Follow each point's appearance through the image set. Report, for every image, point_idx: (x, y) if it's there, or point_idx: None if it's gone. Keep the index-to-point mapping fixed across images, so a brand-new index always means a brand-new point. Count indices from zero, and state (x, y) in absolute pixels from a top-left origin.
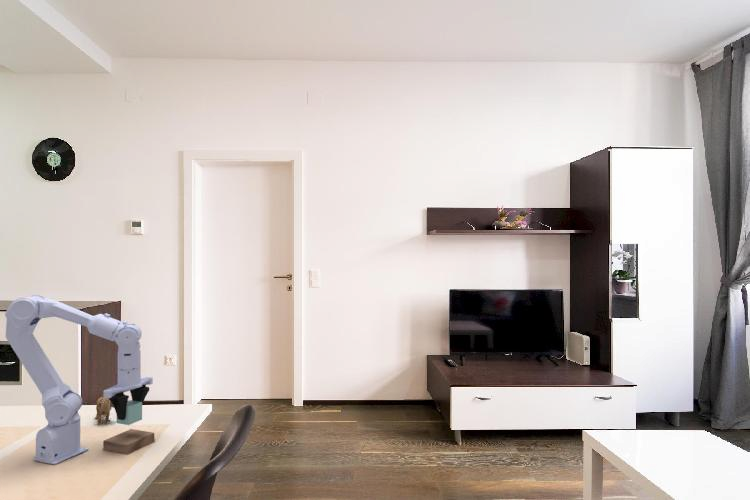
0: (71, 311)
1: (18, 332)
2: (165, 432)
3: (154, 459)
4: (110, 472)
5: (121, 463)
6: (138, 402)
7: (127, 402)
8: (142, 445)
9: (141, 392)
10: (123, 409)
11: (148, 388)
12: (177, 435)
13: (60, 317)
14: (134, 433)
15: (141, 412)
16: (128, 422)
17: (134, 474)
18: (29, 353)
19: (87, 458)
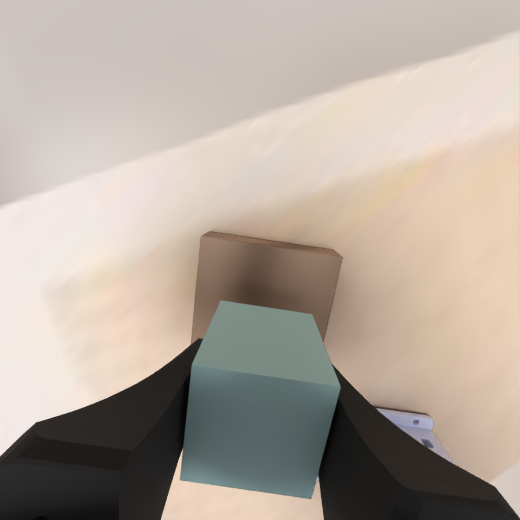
0: None
1: None
2: (121, 249)
3: (361, 107)
4: (477, 201)
5: (405, 216)
6: (212, 384)
7: (233, 467)
8: (266, 240)
9: (144, 460)
10: (363, 398)
11: (29, 450)
12: (132, 177)
13: None
14: None
15: (217, 320)
16: (314, 321)
17: (494, 91)
18: None
19: (376, 358)
